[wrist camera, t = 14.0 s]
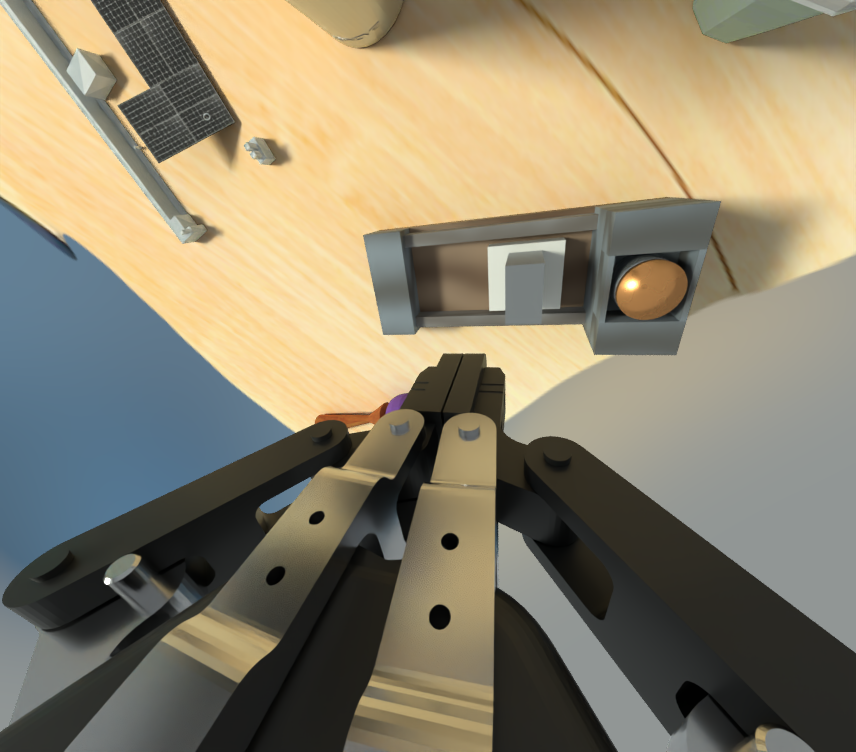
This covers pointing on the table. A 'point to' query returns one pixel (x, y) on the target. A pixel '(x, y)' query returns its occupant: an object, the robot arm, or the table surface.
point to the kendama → (362, 419)
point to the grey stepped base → (582, 273)
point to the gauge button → (647, 286)
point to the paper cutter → (149, 111)
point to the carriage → (525, 278)
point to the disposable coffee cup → (759, 15)
